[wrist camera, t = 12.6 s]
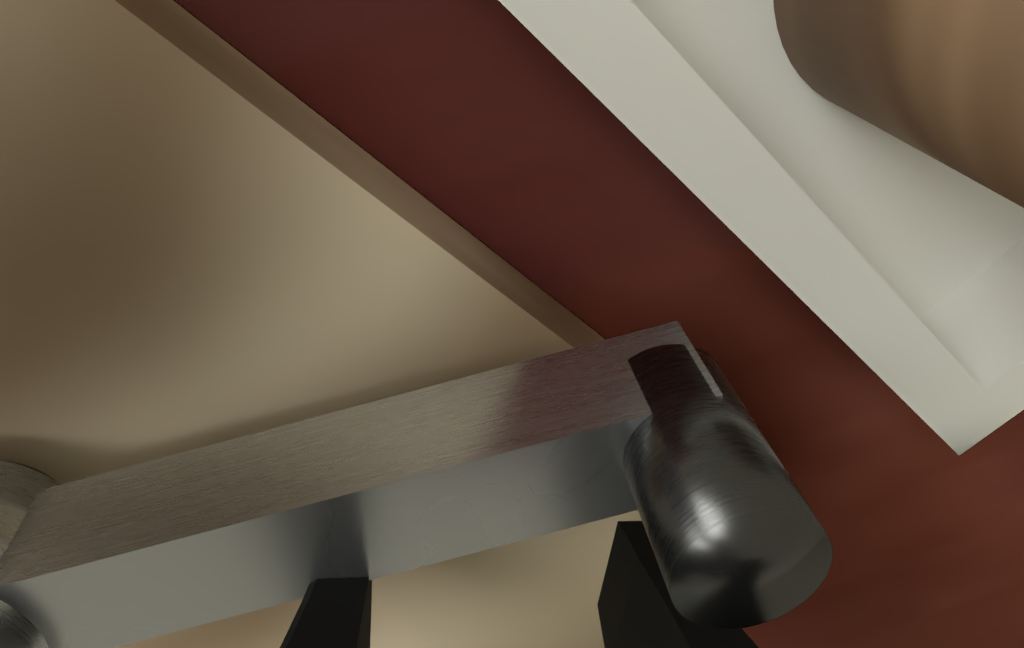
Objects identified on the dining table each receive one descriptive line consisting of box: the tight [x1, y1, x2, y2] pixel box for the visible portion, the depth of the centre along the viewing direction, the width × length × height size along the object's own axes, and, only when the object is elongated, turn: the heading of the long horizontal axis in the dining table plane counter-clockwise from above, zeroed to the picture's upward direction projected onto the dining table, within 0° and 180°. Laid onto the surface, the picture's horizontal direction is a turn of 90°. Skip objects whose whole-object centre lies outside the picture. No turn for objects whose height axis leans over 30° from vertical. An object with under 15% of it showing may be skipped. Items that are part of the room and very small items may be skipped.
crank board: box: [0, 0, 642, 648], centre depth 14 cm, size 16×12×2 cm
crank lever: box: [0, 321, 833, 648], centre depth 10 cm, size 13×3×4 cm, turn 103°
